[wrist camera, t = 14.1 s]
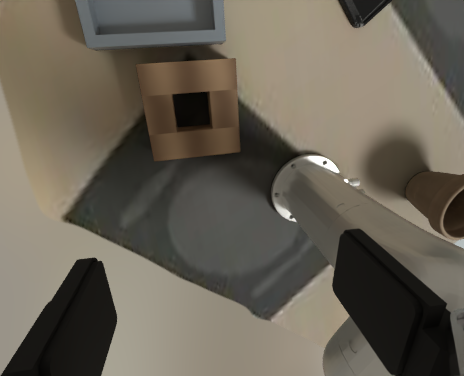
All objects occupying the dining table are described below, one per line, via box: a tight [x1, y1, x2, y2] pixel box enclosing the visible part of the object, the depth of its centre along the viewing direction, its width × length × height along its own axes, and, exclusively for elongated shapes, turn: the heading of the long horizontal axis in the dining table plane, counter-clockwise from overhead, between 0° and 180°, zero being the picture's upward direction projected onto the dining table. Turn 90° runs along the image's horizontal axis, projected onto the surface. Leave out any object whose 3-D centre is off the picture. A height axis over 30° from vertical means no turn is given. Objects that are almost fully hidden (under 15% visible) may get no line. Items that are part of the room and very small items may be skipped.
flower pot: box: [405, 171, 464, 240], centre depth 46 cm, size 12×11×10 cm
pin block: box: [136, 58, 240, 161], centre depth 36 cm, size 12×12×4 cm
